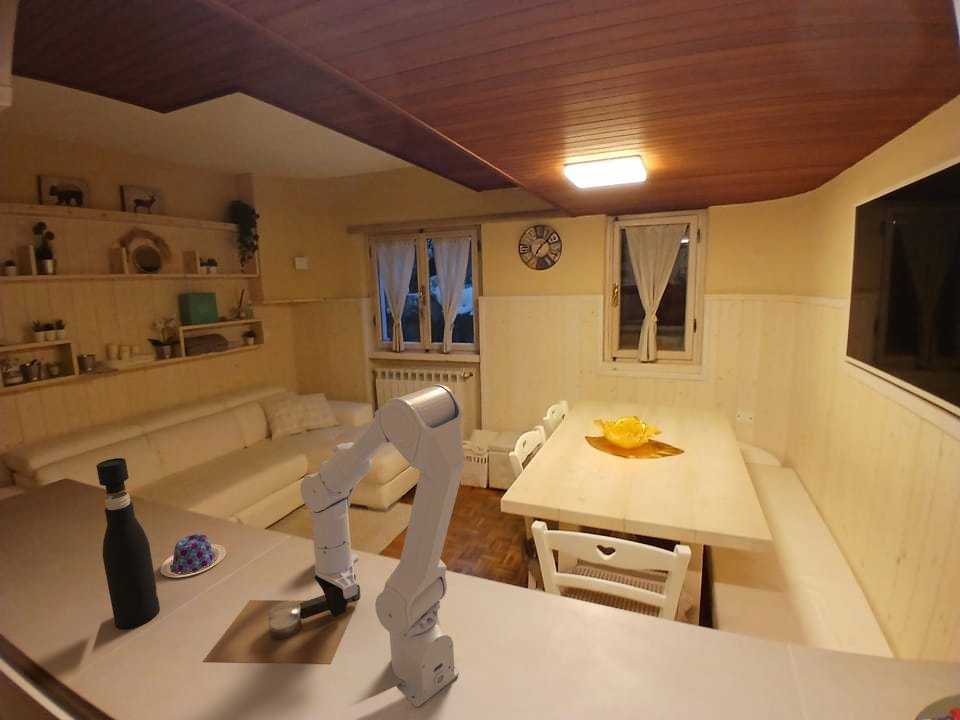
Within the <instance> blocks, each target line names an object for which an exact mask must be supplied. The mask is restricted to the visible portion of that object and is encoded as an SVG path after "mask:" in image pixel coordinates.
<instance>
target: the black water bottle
mask: <svg viewBox="0 0 960 720" xmlns="http://www.w3.org/2000/svg"><path fill="white" fill-rule="evenodd" d="M96 471H97V478H98V482H99V483H98V484H99V486H102V487H103V486H104V487H105V491H106V492H105V494H106V497H105V500H104V503H105V509H104V513H105V520H106V529H105V533H104V537H103V542H102V560H103V561H102V562H103V565H104V571H105V576H106V582H107V587H108V593H109V598H110V605H111V609H112V615H113V619H114V620H113V621H114V625H115V628H116V629H118V630H121V631H128V630H134V629H137V628H140V627H142V626H144V625H147V624H149V623H150V622H151V621H152V620H153V619H155V618H156V617H157V616H158V615H159V614H160V609H161V607H160V603H159V602H160V601H159V596H158V588H157V583H156V577H155V571H154V567H153V566H154V565H153V558H152V553H151V547H150V546H151V545H150V542H149V540H148V537H147V535H146V532H145V530H144V528H143V526H142V525H141V524H140V522H139V521H138V519H137V518H136V517H135V515H136V514H135V510H134V504H133V501H131V498H130V497H131V496H130V494H129V492H128V491H127V488H126V485H125V481H127V480H129V472H128V466H127V460H126V458H123V457H116V458H110V459H106V460H103V461H100V462H99V463H97V464H96Z"/></svg>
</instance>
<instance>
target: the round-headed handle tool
mask: <svg viewBox="0 0 960 720" xmlns="http://www.w3.org/2000/svg"><path fill="white" fill-rule="evenodd" d="M357 592H358V594H356V595H354V596H352V597H349V598H348V602H347V604H348V603H351V602H355V601H358V602H359V600H360V599H361V587H360V585H359V584H357ZM294 601H295V600H293V601H287V602H283V603H280V604H278V605H276V606H275V607H273V608H272V609H271V610H270V612H269V614H268V620H269V628H270V635H271V636H272V637H274V638H277V639H283V638H287V637H290V636H292V635H294V634H295V633H297V632H298V631H299V630H300V628H301V627H302V619H305V618H308V617H311V616H314V615H316V614H319V613H322V612H325V611H328V610H330V609H329V606H328V603H327V600H326V597H325V594H323V595H319V596H317V597H313V598H311V599H308V600H304V601H305V602H302V603H300V604H299V603H297V602H294Z"/></svg>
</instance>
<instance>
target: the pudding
mask: <svg viewBox="0 0 960 720" xmlns="http://www.w3.org/2000/svg"><path fill="white" fill-rule="evenodd" d="M213 548H214V549H215V548H216V549H218V551H219V557H218V559H217V560H216V561H215V563H213V564H212V565H211V566H210V567H208V568H206V569H204V570H201V569H202V568H201V567H203V568H205V567H204V566H206V567H207V565H208V566H209V564H210V563H212V562H213V561H214V560H215V559H216V558H215V557H216V556H217V555H216V553H215V552H214V551H213ZM225 555H226V548H225V546H223V545H220V544H215V543H210V541H209V539H208V537H207V535H205V534H199V533H196V534H192V535H187V536H185V537H184V538H182V539H180V540H178V541H177V542H176V544H175V547H174V552H173V555H171V556H169V557H168V558H166V560H165V561H164V562H163V563H162V565H161V567H160V573H161V574H162V575H164V576H165V577H168V578H184V577H189V576H193V575H197V574H199V573H203V572H205V571H208V570H209V569H211V568H212V567H214V566H216V565H217V564H218V563H220V562H221V561H222V560H223V558H224V557H225ZM213 559H214V560H213ZM171 560H173V564H172V567H171V570H172V569H173V570H177V571H176V573H177V572H181V573H182V574H184V573H183V572H186V571H190V572H189V573H192V571H196V570H198V569H199V568H201V569H199V570H201V571H199V572H196V573H192V574H187V575H173V574H170V573H168V571H166V570H167V565H168V564H169V562H171ZM212 560H213V561H212ZM173 570H172V571H173ZM186 573H187V572H186Z"/></svg>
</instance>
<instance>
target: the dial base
mask: <svg viewBox="0 0 960 720" xmlns="http://www.w3.org/2000/svg"><path fill="white" fill-rule="evenodd" d="M287 601H294V602H297V603H299V604H300V603H302V602H305V601H306V600H289V599H288V600H286V599H285V600H283V599H282V600H280V599H278V600H277V599H276V600H275V599H271V600H270V599H268V600H265V599H263V600H262V599H253V600H252V599H249V600H248V601H247V603H246V604H245V606H244V607H243V608H242V609H241V611H240V612H239V614H238V615H237V616H236V617H235V618H234V620H233V621H232V623H231V624H230V625H229V627H228V628H227V629H226V631H225V632H224V633H223V634H222V635H221V637H220V638H219V640H217V642H216V643H215V644H214V646H213V648H211V649H210V651H209V653H207V655H206V656H205V658H204V659H203V660H202V663H238V664H239V663H240V664H242V663H246V664H248V663H250V664H301V665H302V664H303V665H309V664H311V665H312V664H313V665H331V664H332V662H333V660H334V658H335V655H336V653H337V651H338V648H339V646H340V644H341V642H342V639H343V637H344V635H345V633H346V630H347V627H348V626H349V623H350V620H351V619H352V616H353V614H354V612H355V609H356V607H357V605H358V603H359V600H358V601H355V602H351V603H348V604H347V608H346V612H345V613H343V614H341V615H339V616H336V617H333V615H332V613H331V612H330V610H328V611H325V612H322V613H319V614H316V615H314V616H311V617H308V618H305V619H302V627H301V628H300V630H299V631H298V632H297V633H295V634H294V635H292V636H290V637H287V638H283V639H277V638H274V637H272V636H271V635H270V628H269V620H268V614H269V612H270V610H271V609H272V608H273V607H275V606H276V605H278V604H280V603H283V602H287Z"/></svg>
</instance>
